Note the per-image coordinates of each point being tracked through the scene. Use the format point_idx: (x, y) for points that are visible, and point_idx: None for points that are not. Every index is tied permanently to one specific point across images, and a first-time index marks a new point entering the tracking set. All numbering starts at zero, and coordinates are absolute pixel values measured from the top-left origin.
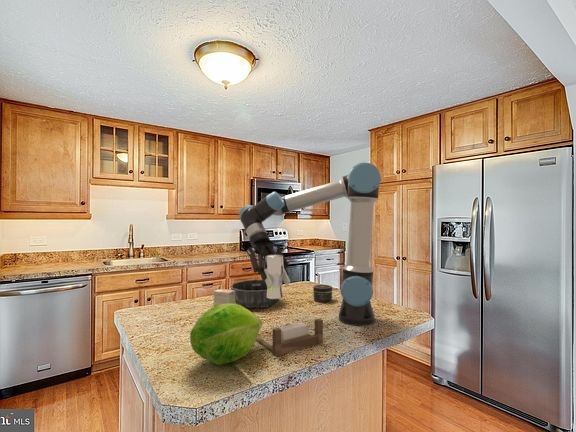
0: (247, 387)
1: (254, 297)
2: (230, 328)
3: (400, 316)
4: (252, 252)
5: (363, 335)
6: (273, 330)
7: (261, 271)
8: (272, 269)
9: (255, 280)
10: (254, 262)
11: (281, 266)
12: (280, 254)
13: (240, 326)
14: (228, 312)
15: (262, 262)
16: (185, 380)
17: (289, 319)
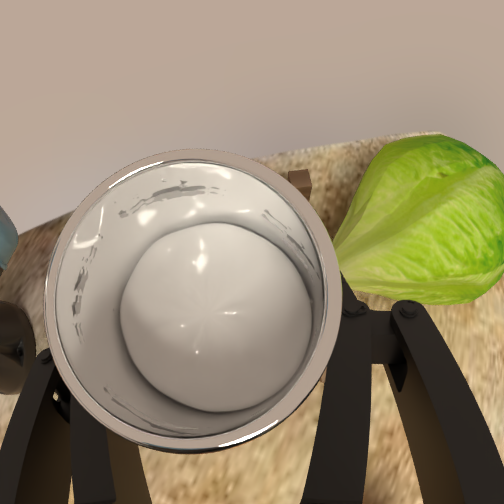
0: (375, 140)
1: None
2: (439, 135)
3: None
4: (497, 498)
5: (50, 254)
6: (310, 181)
7: (356, 299)
8: (264, 229)
9: None
10: (448, 352)
11: (163, 220)
12: (21, 468)
13: (417, 137)
14: (461, 152)
15: (344, 371)
16: None
17: (146, 463)
